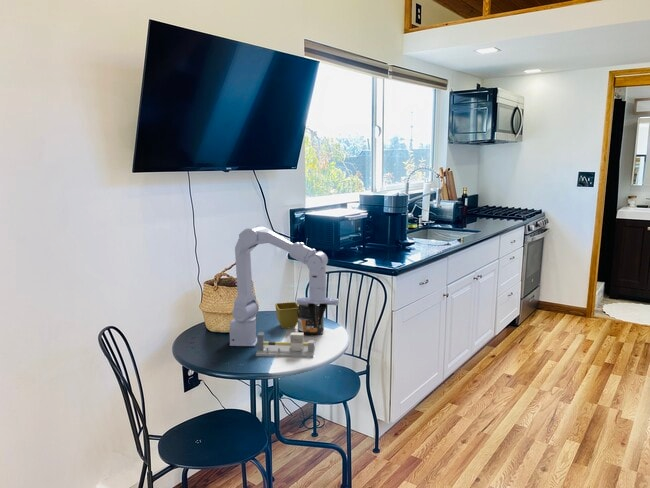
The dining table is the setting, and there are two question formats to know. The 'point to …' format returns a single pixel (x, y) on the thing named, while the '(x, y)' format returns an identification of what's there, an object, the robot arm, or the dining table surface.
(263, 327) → the dining table surface
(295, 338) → the sleeve
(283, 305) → the flower pot
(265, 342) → the slider rail
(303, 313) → the supplement container
